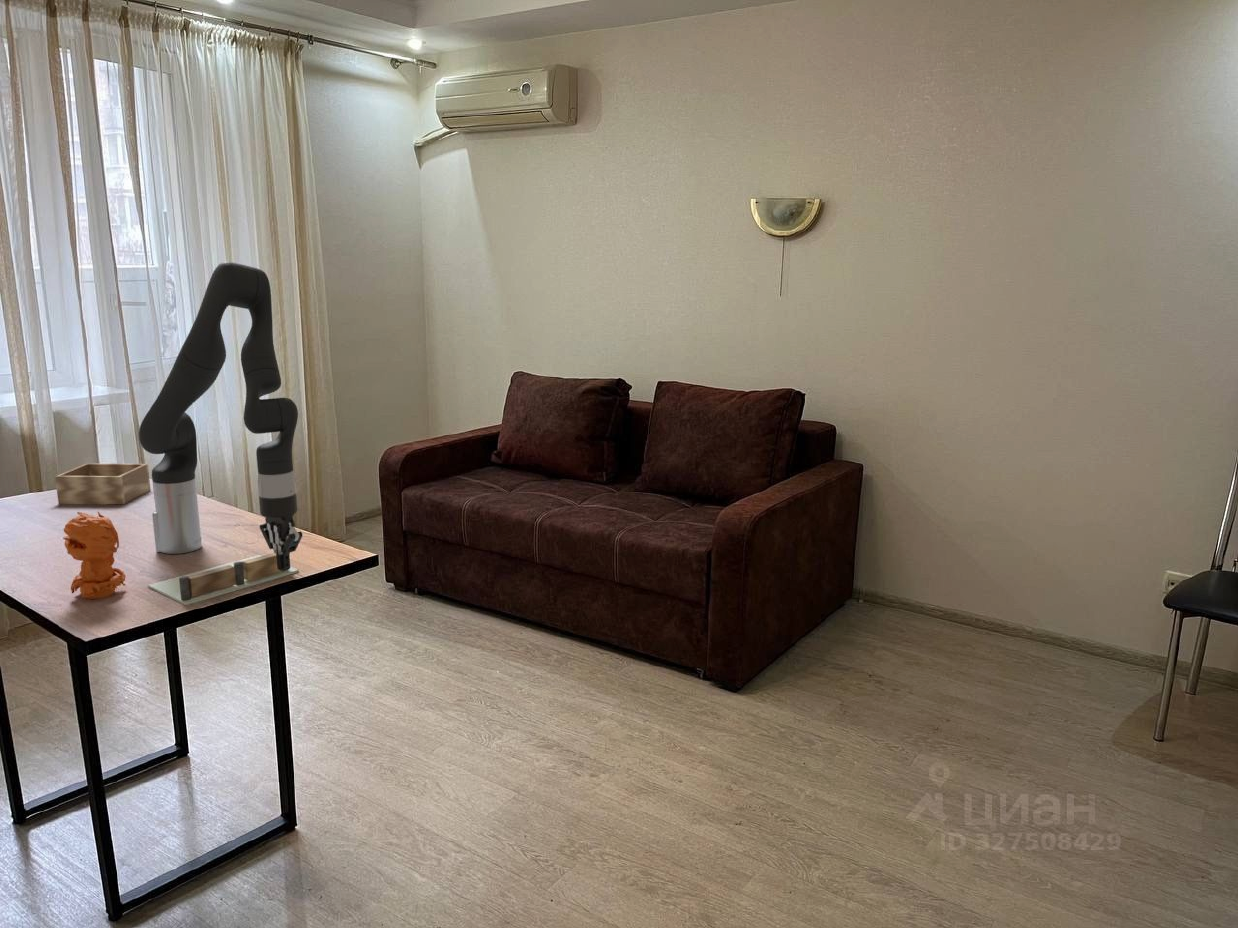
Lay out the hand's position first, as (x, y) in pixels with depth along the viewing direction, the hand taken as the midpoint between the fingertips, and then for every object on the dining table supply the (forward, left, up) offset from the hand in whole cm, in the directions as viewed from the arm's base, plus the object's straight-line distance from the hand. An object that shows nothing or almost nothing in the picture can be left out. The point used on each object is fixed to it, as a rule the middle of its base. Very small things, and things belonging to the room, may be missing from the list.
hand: (283, 569), depth 200 cm
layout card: (-14, +3, -4) cm, 15 cm away
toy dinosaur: (-37, -6, -4) cm, 38 cm away
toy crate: (-75, +70, -4) cm, 103 cm away
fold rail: (-5, +4, -3) cm, 7 cm away
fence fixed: (-13, -5, -4) cm, 15 cm away
